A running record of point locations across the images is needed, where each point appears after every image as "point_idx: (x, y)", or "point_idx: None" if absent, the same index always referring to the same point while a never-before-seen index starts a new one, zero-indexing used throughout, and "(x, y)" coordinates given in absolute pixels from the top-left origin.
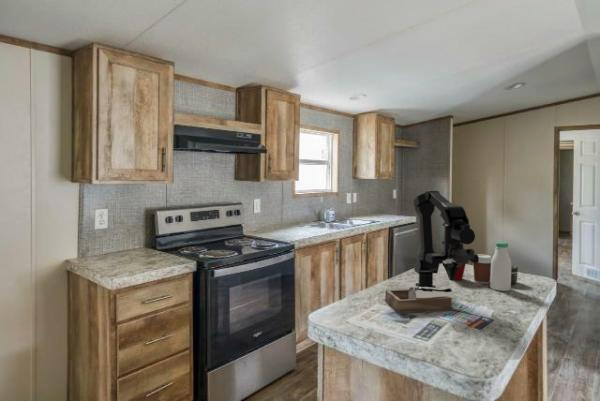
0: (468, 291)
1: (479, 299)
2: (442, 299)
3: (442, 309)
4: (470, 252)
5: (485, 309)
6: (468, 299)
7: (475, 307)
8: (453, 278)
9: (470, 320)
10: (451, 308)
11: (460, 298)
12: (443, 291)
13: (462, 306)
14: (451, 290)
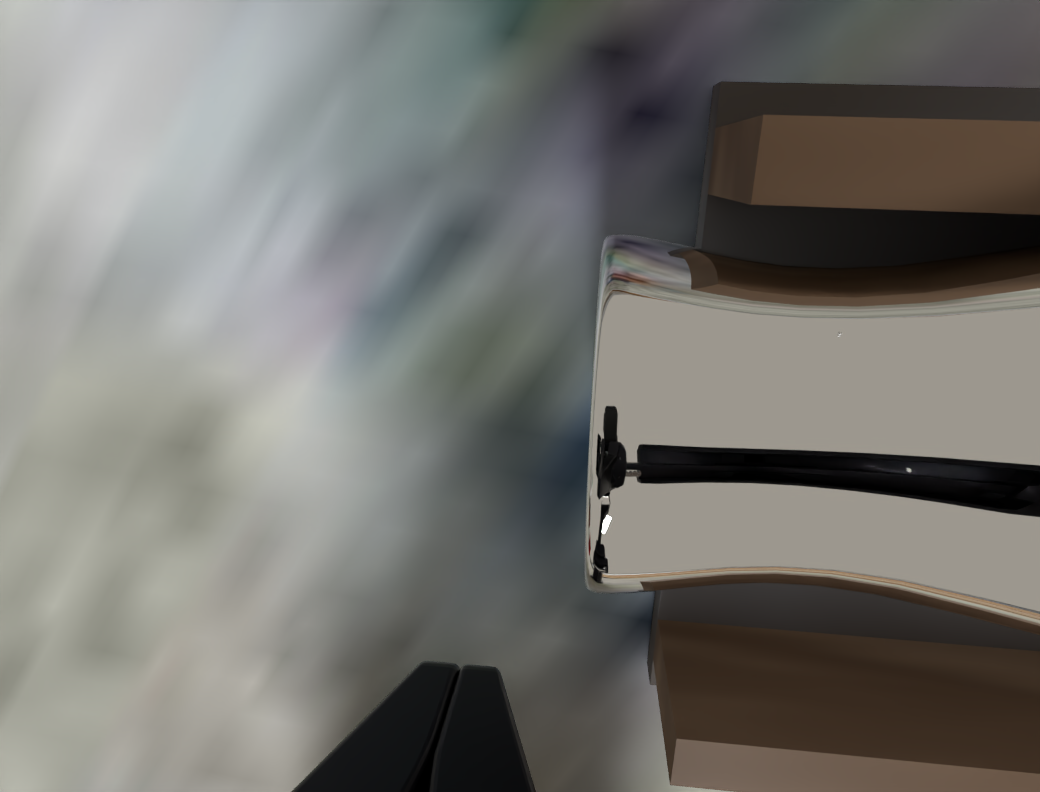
0: (27, 755)
1: (6, 478)
2: (1011, 125)
3: (932, 89)
4: None
5: (100, 50)
6: (162, 510)
7: (221, 175)
8: (394, 706)
9: None
10: (732, 95)
11: (257, 568)
12: (866, 365)
13: (408, 260)
14: (626, 354)
